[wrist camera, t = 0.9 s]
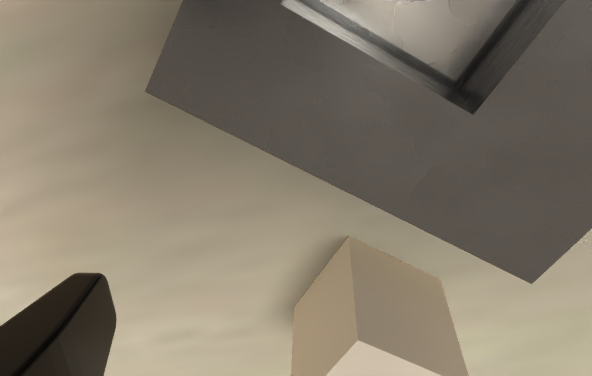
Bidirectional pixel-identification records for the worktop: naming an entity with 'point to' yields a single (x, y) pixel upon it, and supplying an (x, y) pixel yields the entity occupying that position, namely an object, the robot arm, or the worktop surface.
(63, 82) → the worktop surface
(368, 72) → the socket plate
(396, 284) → the plug
